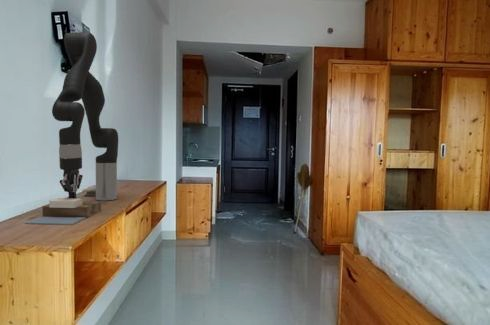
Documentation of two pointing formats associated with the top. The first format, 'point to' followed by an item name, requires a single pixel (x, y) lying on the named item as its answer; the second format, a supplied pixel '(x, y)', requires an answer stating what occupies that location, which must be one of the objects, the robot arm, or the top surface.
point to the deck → (73, 210)
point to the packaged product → (90, 190)
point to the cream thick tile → (65, 203)
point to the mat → (56, 220)
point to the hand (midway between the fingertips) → (72, 201)
